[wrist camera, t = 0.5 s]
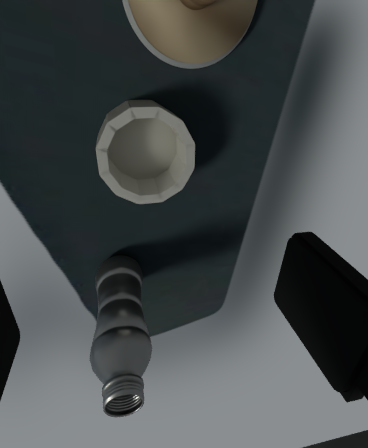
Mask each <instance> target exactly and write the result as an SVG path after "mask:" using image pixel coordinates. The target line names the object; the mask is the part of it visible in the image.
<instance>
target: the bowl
mask: <svg viewBox="0 0 368 448" xmlns="http://www.w3.org/2000/svg"><path fill="white" fill-rule="evenodd" d="M96 154H97V161H98V168H99V175H100V176H101V177H102V179H103V180H104V181H105V182H106V184H107V185H108V186H109V187H110V189H111V190H112V191H113V192H114V194H116V195H117V196H120V197H122V198H125V199H127V200H129V201H132V202H134V203H137V204H146V203H157V202H163V201H165V200H166V199H168V198H169V197H171V196H173V195H174V194H176V193H177V192H179V191H181V190H182V189H183V187H184V186H185V184H186V182H187V181H188V179H189V177H190V175H191V174H192V172H193V170H194V166H195V143H194V141H193V139H192V137H191V135H190V133H189V132H188V130H187V128H186V126H185V124H184V122H183V121H182V120H181V119H180V118H178V117H177V116H176V115H175V114H174V113H172V112H171V111H169V110H168V109H166V108H164V107H163V106H161V105H159V104H158V103H156V102H154V101H153V100H128V101H125V102H124V103H122V104H121V105H119V106H118V107H116V108H115V109H113V110H112V111H110V112H109V113H108V114H107V115H106V118H105V120H104V122H103V125H102V127H101V129H100V132H99V134H98V138H97V144H96Z"/></svg>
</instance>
